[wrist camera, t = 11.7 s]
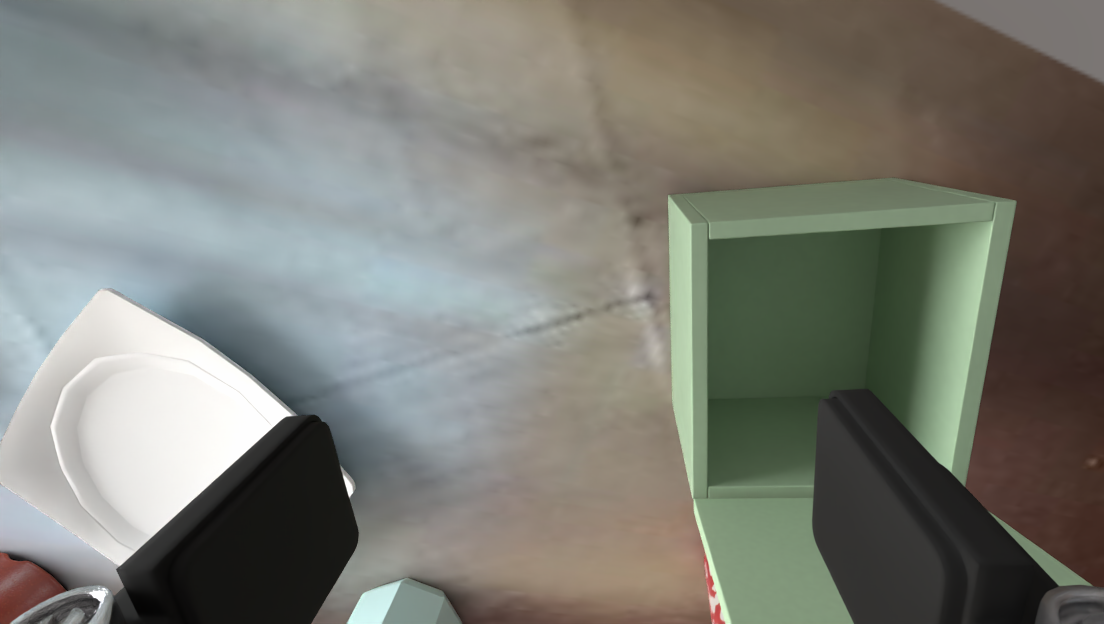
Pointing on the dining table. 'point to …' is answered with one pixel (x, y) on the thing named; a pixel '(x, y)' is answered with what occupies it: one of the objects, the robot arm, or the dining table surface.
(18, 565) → the flower pot
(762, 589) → the lid
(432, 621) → the water bottle
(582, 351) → the dining table surface
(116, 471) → the plate
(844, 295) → the chest
